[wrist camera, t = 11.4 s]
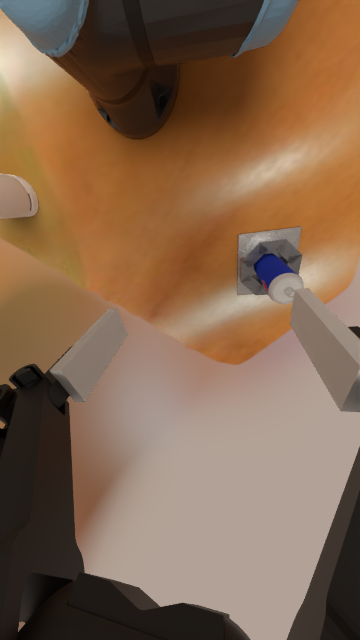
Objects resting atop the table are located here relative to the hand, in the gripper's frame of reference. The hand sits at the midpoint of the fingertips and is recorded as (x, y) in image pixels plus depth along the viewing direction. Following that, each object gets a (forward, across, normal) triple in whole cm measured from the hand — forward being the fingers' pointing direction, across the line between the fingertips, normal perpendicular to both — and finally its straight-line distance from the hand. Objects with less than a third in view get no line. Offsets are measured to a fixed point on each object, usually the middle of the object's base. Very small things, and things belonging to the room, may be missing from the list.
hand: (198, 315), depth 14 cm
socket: (+33, +12, -8) cm, 36 cm away
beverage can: (+32, +12, -8) cm, 35 cm away
